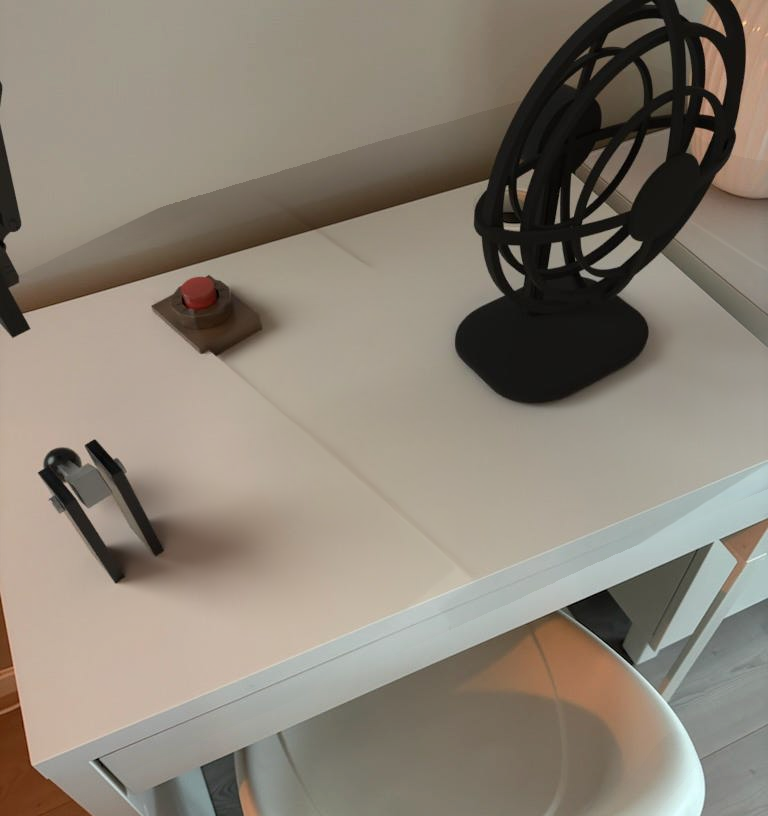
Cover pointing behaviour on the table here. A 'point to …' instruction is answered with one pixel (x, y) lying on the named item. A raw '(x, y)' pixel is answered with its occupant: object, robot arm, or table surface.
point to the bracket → (124, 498)
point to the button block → (210, 320)
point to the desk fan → (553, 165)
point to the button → (199, 293)
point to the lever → (78, 475)
